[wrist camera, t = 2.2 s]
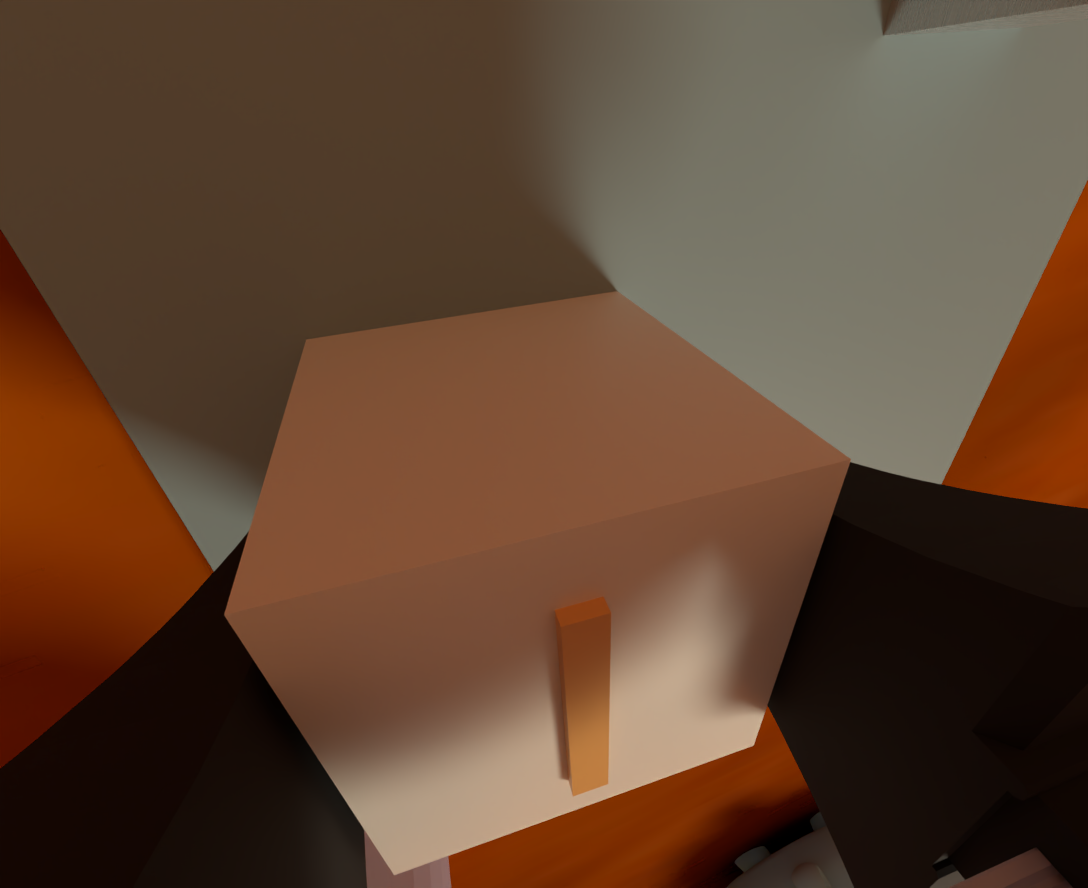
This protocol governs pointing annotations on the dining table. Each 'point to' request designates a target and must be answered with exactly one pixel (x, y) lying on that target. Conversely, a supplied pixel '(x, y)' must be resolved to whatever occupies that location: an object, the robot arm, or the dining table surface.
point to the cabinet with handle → (524, 564)
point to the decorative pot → (795, 863)
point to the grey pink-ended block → (978, 15)
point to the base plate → (531, 199)
